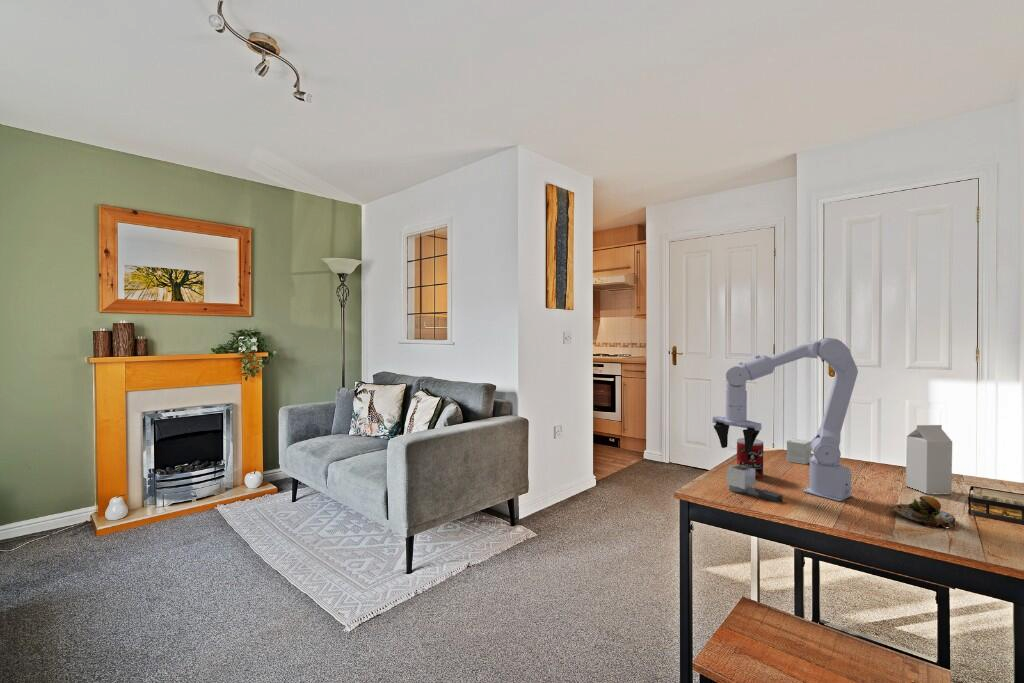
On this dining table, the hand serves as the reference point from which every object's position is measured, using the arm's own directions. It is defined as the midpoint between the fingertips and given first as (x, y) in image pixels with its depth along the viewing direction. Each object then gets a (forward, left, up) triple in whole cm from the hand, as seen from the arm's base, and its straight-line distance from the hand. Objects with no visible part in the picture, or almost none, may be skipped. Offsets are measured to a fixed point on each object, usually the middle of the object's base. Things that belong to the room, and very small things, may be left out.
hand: (735, 450), depth 146 cm
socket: (-5, +6, -8) cm, 11 cm away
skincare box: (0, -40, -10) cm, 41 cm away
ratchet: (-9, +6, -10) cm, 15 cm away
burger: (-42, -11, -10) cm, 45 cm away
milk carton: (-36, -38, -10) cm, 53 cm away
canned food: (+2, -11, -10) cm, 15 cm away
